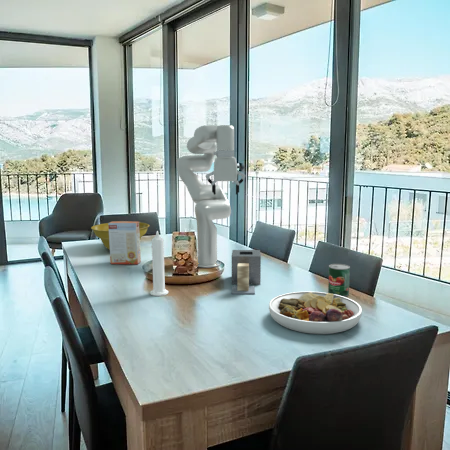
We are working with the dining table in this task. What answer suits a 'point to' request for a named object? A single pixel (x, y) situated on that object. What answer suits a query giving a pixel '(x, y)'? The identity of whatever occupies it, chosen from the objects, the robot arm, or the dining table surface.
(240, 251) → the post block
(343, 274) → the canned tomato
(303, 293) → the bowl
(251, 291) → the mat
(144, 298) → the dining table surface
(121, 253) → the cracker box
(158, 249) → the candle
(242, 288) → the peg
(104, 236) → the planter bowl
